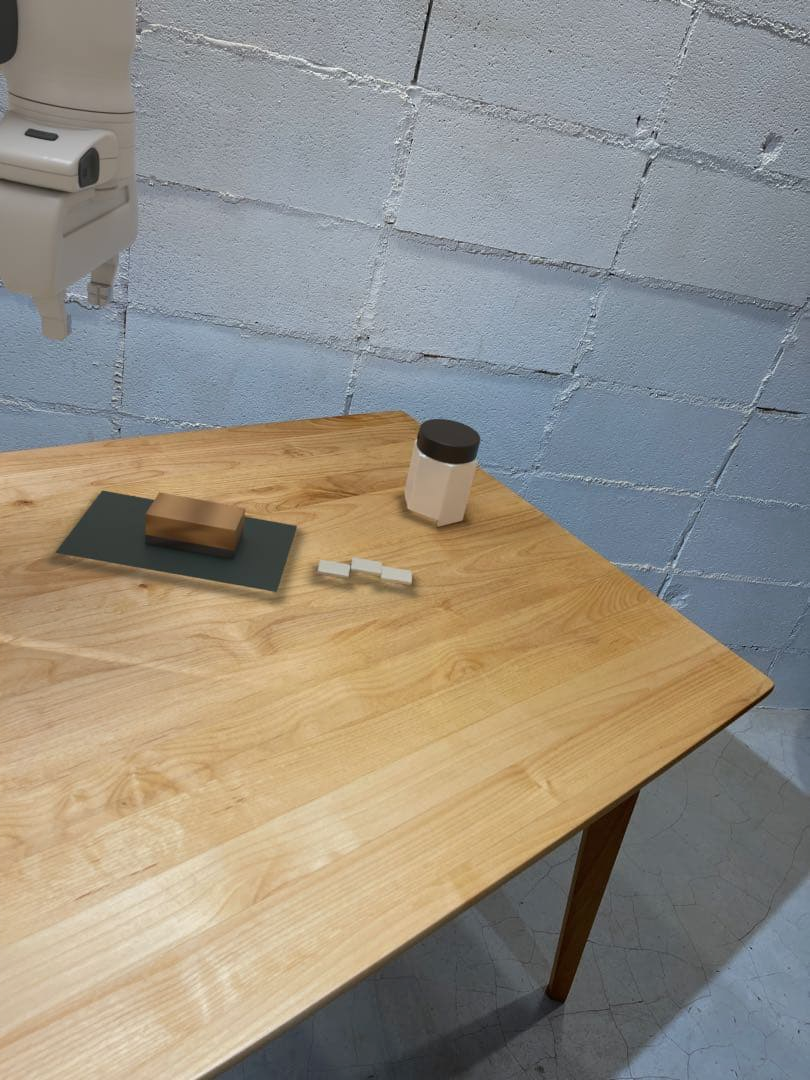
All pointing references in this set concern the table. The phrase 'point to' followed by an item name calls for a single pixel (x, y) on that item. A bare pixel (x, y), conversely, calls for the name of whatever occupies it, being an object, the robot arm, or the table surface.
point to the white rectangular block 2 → (366, 566)
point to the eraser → (194, 525)
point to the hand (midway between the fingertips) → (80, 319)
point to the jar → (442, 470)
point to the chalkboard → (120, 539)
